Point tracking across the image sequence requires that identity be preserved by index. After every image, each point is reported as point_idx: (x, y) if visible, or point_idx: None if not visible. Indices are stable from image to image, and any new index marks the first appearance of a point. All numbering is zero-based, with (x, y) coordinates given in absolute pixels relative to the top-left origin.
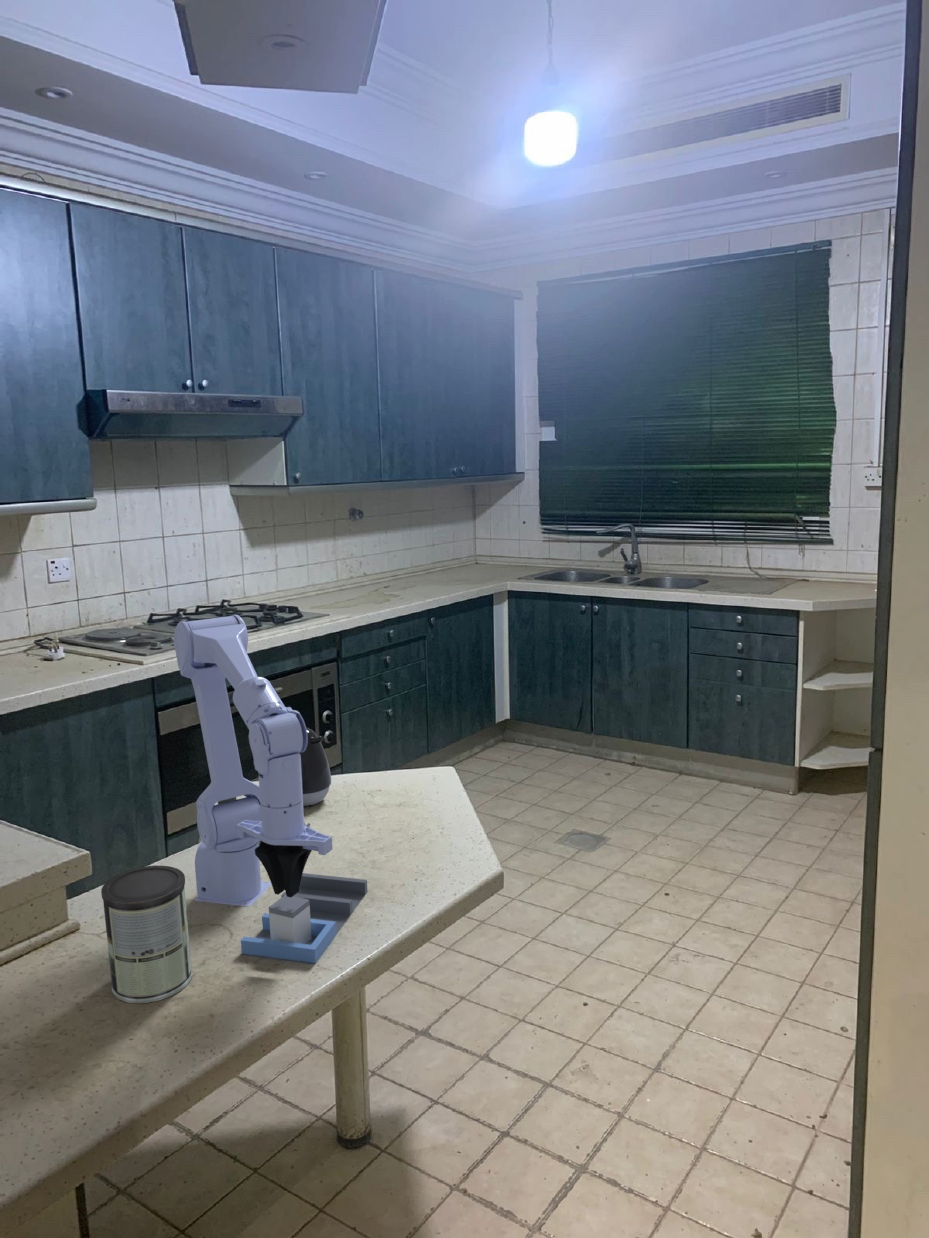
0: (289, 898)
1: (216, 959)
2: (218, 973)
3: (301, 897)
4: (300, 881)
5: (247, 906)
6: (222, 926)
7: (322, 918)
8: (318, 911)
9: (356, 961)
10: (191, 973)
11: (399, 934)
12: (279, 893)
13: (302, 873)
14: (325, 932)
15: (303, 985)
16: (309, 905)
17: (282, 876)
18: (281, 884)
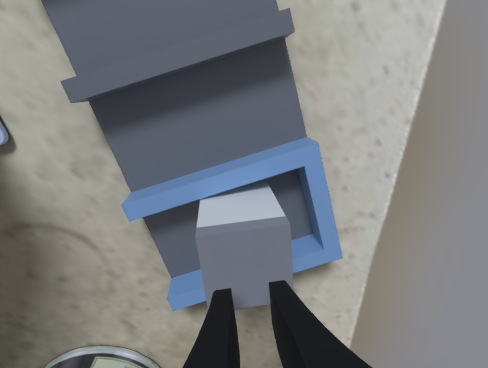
0: (226, 249)
1: (141, 309)
2: (182, 332)
3: (136, 80)
4: (301, 301)
5: (1, 144)
6: (34, 228)
7: (228, 92)
8: (193, 67)
9: (388, 183)
10: (148, 362)
11: (431, 42)
12: (236, 325)
13: (319, 321)
14: (323, 195)
15: (338, 284)
16: (284, 215)
17: (233, 350)
18: (236, 337)
